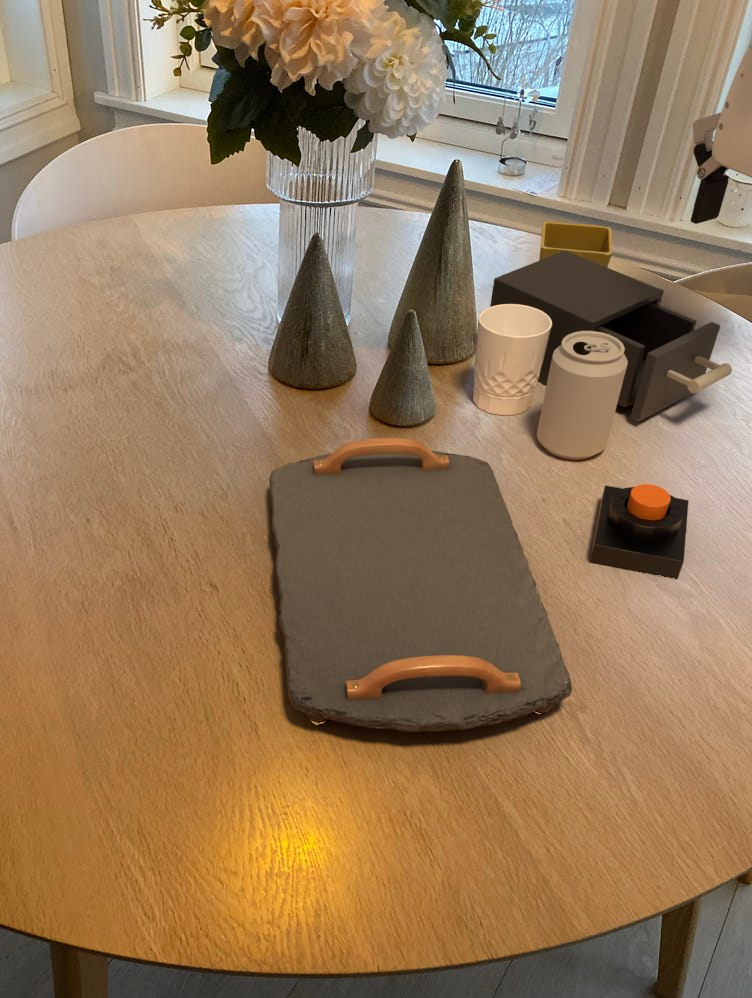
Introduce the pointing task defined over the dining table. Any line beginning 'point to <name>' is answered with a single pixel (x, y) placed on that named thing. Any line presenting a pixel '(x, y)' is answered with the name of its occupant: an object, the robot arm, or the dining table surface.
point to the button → (648, 502)
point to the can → (582, 394)
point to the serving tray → (407, 592)
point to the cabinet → (572, 295)
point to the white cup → (509, 357)
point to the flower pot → (577, 241)
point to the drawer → (663, 357)
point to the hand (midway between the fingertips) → (741, 237)
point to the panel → (639, 536)
